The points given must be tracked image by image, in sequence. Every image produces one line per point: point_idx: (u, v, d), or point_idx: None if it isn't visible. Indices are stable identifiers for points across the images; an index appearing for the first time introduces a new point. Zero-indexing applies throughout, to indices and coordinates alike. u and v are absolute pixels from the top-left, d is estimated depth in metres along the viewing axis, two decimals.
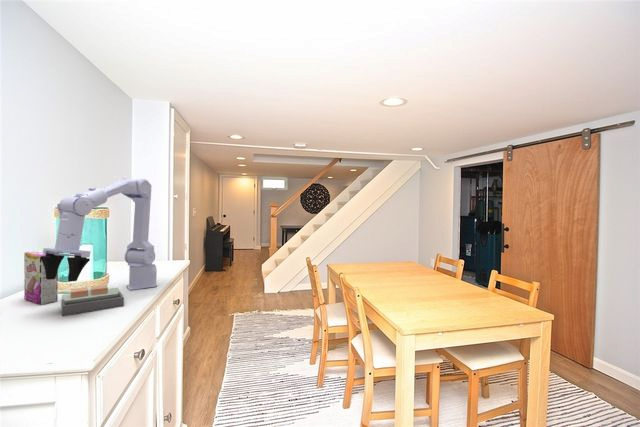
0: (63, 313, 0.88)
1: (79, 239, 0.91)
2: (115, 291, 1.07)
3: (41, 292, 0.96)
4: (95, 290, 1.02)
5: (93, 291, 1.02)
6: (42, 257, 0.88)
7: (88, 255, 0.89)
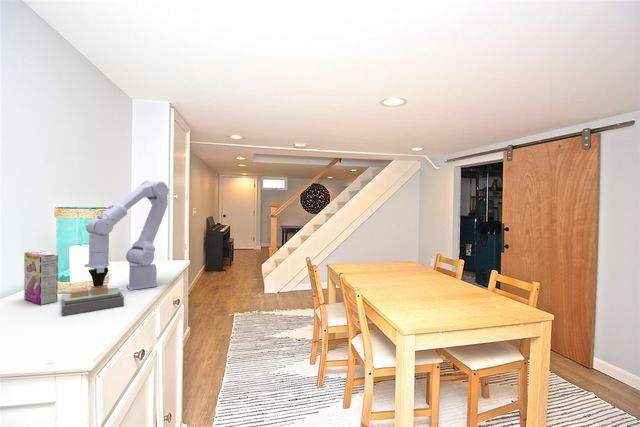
0: (63, 313, 0.88)
1: (103, 255, 1.05)
2: (115, 291, 1.07)
3: (41, 292, 0.96)
4: (95, 290, 1.02)
5: (93, 291, 1.02)
6: None
7: (102, 271, 1.01)
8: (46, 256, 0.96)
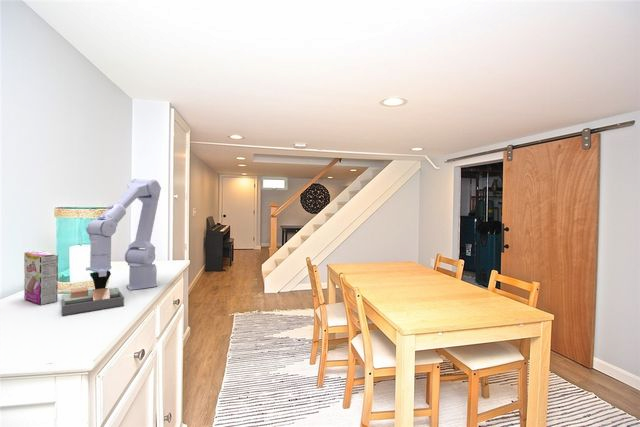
0: (63, 313, 0.88)
1: (105, 258, 1.00)
2: (115, 291, 1.07)
3: (41, 292, 0.96)
4: (97, 300, 0.97)
5: None
6: (90, 274, 1.01)
7: (104, 274, 0.97)
8: (46, 256, 0.96)
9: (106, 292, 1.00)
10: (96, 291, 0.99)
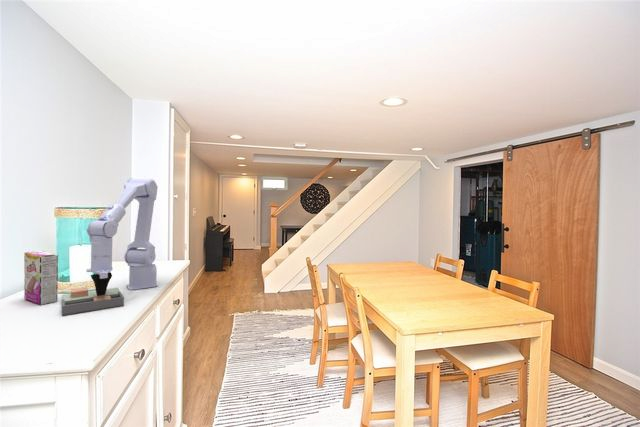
0: (63, 313, 0.88)
1: (106, 259, 0.98)
2: (115, 291, 1.07)
3: (41, 292, 0.96)
4: None
5: None
6: (91, 276, 0.99)
7: (105, 276, 0.95)
8: (46, 256, 0.96)
9: (107, 297, 0.99)
10: (97, 297, 0.98)
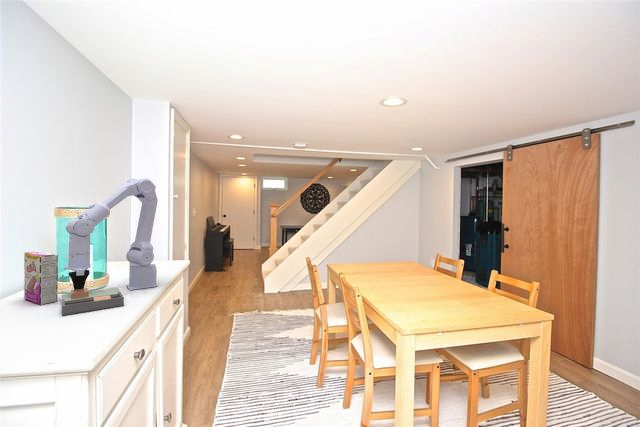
0: (63, 313, 0.88)
1: (83, 257, 1.01)
2: (115, 291, 1.07)
3: (41, 292, 0.96)
4: None
5: None
6: (69, 273, 1.01)
7: (82, 273, 0.97)
8: (46, 256, 0.96)
9: (107, 297, 0.99)
10: (97, 297, 0.98)
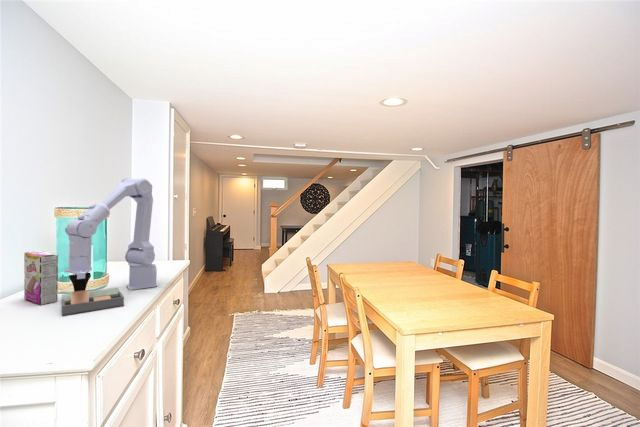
0: (63, 313, 0.88)
1: (84, 259, 0.97)
2: (115, 291, 1.07)
3: (41, 292, 0.96)
4: None
5: None
6: (69, 276, 0.97)
7: (83, 277, 0.93)
8: (46, 256, 0.96)
9: (107, 297, 0.99)
10: (97, 297, 0.98)
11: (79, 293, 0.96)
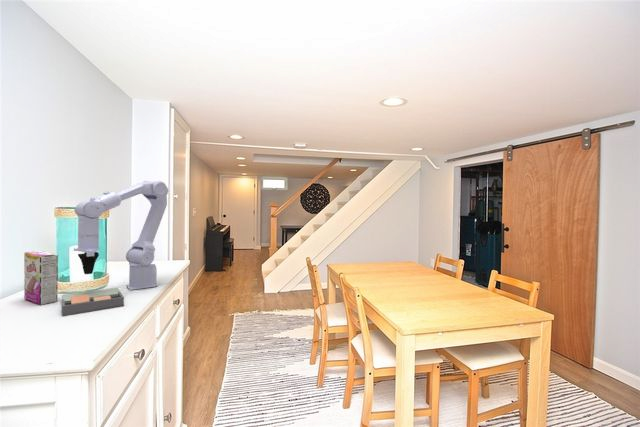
0: (63, 313, 0.88)
1: (92, 239, 1.02)
2: (115, 291, 1.07)
3: (41, 292, 0.96)
4: None
5: None
6: (78, 255, 1.02)
7: (92, 254, 0.98)
8: (46, 256, 0.96)
9: (107, 297, 0.99)
10: (97, 297, 0.98)
11: (79, 296, 0.96)
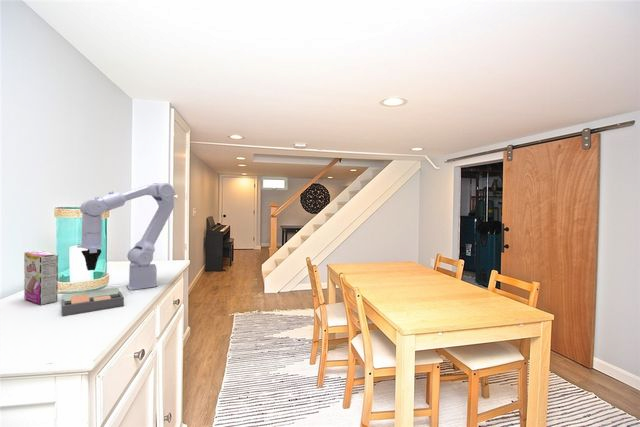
0: (63, 313, 0.88)
1: (95, 236, 1.05)
2: (115, 291, 1.07)
3: (41, 292, 0.96)
4: None
5: None
6: None
7: (94, 251, 1.02)
8: (46, 256, 0.96)
9: (107, 297, 0.99)
10: (97, 297, 0.98)
11: (79, 296, 0.96)
